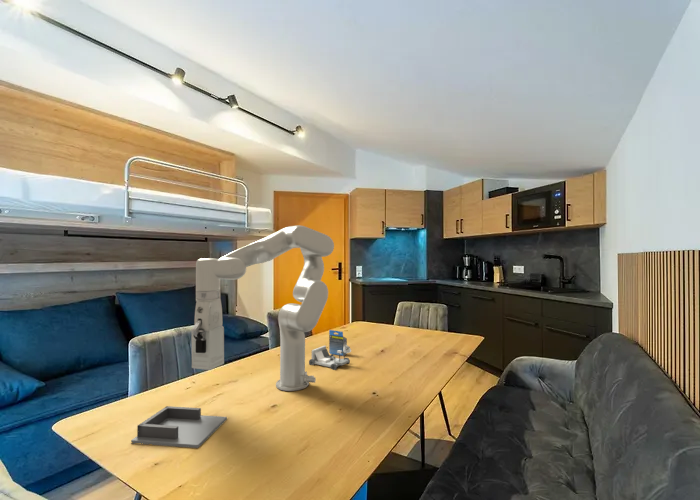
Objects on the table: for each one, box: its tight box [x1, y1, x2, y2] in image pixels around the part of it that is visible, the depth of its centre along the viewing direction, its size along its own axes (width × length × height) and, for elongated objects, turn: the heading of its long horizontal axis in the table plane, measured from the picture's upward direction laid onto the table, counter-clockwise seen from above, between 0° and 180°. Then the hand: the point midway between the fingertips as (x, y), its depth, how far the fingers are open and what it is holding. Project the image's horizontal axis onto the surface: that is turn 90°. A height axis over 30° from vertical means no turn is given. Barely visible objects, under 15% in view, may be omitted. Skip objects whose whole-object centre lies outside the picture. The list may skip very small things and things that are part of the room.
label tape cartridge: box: [328, 329, 348, 357], centre depth 178 cm, size 9×4×12 cm, turn 58°
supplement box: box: [190, 325, 225, 371], centre depth 114 cm, size 7×7×13 cm
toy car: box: [308, 344, 352, 371], centre depth 161 cm, size 18×10×12 cm
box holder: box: [130, 405, 228, 449], centre depth 99 cm, size 19×16×4 cm
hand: (208, 348), depth 114 cm, fingers closed on supplement box, 8 cm apart
